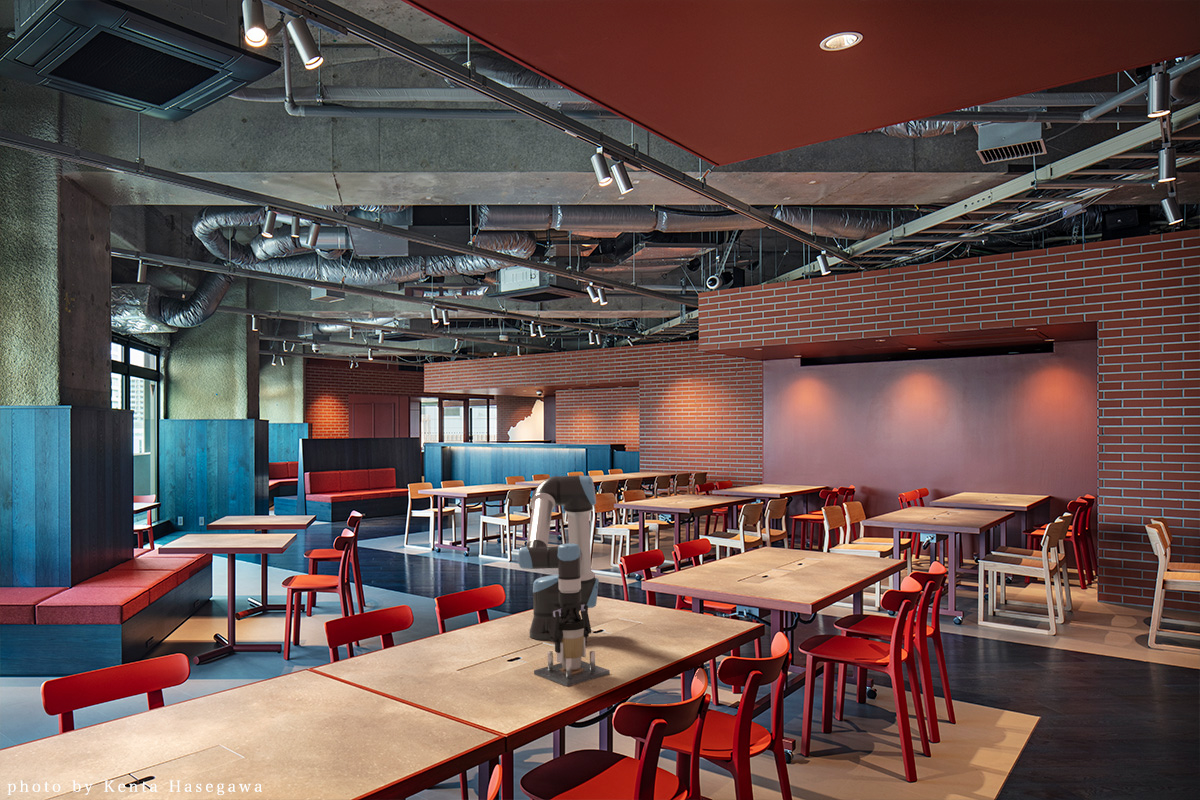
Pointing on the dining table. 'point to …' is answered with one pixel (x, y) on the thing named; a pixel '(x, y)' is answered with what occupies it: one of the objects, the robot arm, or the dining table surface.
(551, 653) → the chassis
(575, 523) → the robot arm
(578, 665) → the coffee cup
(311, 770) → the dining table surface
